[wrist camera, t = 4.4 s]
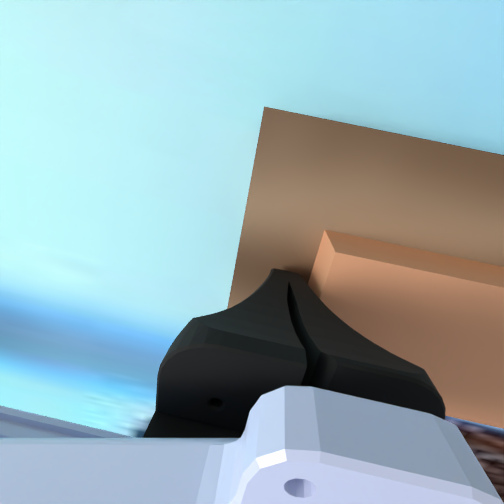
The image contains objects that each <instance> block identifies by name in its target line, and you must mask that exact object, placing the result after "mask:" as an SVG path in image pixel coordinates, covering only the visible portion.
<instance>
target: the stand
mask: <svg viewBox="0 0 504 504" xmlns="http://www.w3.org/2000/svg"><path fill="white" fill-rule="evenodd" d="M324 230H329V231H334V232H339V233H343V234H348V235H353V236H358V237H363V238H367V239H372V240H377V241H382V242H387V243H391V244H396V245H401V246H406V247H410V248H415V249H420V250H425V251H430V252H434V253H439V254H444V255H449V256H453V257H458V258H463V259H468V260H473V261H477V262H482V263H487V264H492V265H496V266H501V267H504V155H500V154H495V153H490V152H485V151H480V150H475V149H470V148H465V147H460V146H456V145H451V144H446V143H441V142H436V141H431V140H426V139H421V138H416V137H411V136H406V135H401V134H396V133H391V132H386V131H382V130H377V129H372V128H367V127H362V126H357V125H352V124H347V123H342V122H337V121H332V120H327V119H322V118H317V117H312V116H308V115H303V114H298V113H293V112H288V111H283V110H278V109H273V108H268V107H264V111H263V117H262V122H261V128H260V133H259V138H258V144H257V149H256V155H255V160H254V166H253V171H252V177H251V182H250V188H249V193H248V199H247V204H246V210H245V215H244V221H243V226H242V232H241V237H240V242H239V248H238V253H237V259H236V264H235V270H234V275H233V281H232V286H231V292H230V297H229V303H228V308H227V309H229V308H231V307H233V306H235V305H237V304H238V303H240V302H242V301H243V300H245V299H246V298H247V297H249V296H250V295H251V294H252V293H254V292H255V291H256V290H257V289H258V288H259V287H260V286H261V285H262V284H263V282H264V281H265V280H266V279H267V277H268V276H269V274H270V271H271V269H273V268H276V269H281V270H285V271H290V272H295V273H299V274H300V275H301V277H302V278H303V279H304V281H305V282H306V283H307V284H308V282H309V279H310V276H311V272H312V269H313V266H314V263H315V259H316V256H317V253H318V250H319V246H320V243H321V240H322V237H323V233H324Z"/></svg>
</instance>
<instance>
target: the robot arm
mask: <svg viewBox="0 0 504 504" xmlns="http://www.w3.org/2000/svg"><path fill="white" fill-rule="evenodd" d="M445 411H446V407H445V405H444V402H443V399H442V397H441V395H440V394H439V392H438V390H437V389H436V387H435V386H434V384H433V382H432V381H431V379H430V377H429V376H428V374H427V373H426V371H425V370H424V369H423V368H421V367H419V366H417V365H415V364H413V363H411V362H409V361H407V360H404V359H402V358H400V357H398V356H396V355H394V354H392V353H391V352H389V351H387V350H385V349H384V348H382V347H380V346H378V345H377V344H375V343H373V342H372V341H370V340H369V339H367V338H365V337H364V336H362V335H361V334H360V333H358V332H357V331H355V330H354V329H353V328H351V327H350V326H349V325H347V324H346V323H345V322H343V321H342V320H341V319H340V318H339V317H338V316H336V315H335V314H334V313H333V312H332V311H331V310H330V309H329V308H328V307H327V306H326V305H325V304H324V303H323V302H322V301H321V300H320V299H319V298H318V296H317V295H316V294H315V293H314V292H313V291H312V289H311V288H310V287H309V286H308V284H307V283H306V282H305V281H304V279H303V278H302V277H301V275H300V274H299V273H295V272H290V271H285V270H281V269H276V268H273V269H271V271H270V274H269V276H268V277H267V279H266V280H265V281H264V282H263V284H262V285H261V286H260V287H259V288H258V289H257V290H256V291H255V292H254V293H252V294H251V295H250V296H249V297H247V298H246V299H245V300H243V301H242V302H240V303H238V304H237V305H235V306H233V307H231V308H229V309H226V310H224V311H221V312H218V313H214V314H210V315H206V316H201V317H196V318H193V319H192V320H191V321H190V322H189V323H188V324H187V325H186V326H185V328H184V329H183V330H182V331H181V332H180V334H179V335H178V336H177V338H176V339H175V340H174V342H173V343H172V345H171V346H170V348H169V350H168V352H167V354H166V355H165V357H164V359H163V361H162V363H161V364H160V368H159V372H158V377H157V394H156V411H155V413H154V415H153V417H152V419H151V421H150V423H149V426H148V428H147V430H146V432H145V434H144V436H143V438H134V437H130V436H126V435H122V434H118V433H113V432H109V431H105V430H101V429H97V428H92V427H88V426H84V425H80V424H76V423H71V422H67V421H63V420H59V419H55V418H50V417H46V416H42V415H38V414H34V413H29V412H25V411H21V410H17V409H13V408H8V407H4V406H0V504H504V503H503V501H502V500H501V498H500V496H499V495H498V493H497V491H496V490H495V488H494V486H493V485H492V483H491V482H490V480H489V478H488V477H487V475H486V473H485V472H484V470H483V468H482V467H481V465H480V464H479V462H478V460H477V459H476V457H475V455H474V454H473V452H472V450H471V449H470V447H469V446H468V444H467V442H466V441H465V439H464V437H463V436H462V434H461V432H460V431H459V429H458V428H457V426H456V425H454V424H452V423H450V422H448V421H446V420H444V419H445Z"/></svg>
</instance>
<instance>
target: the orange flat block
mask: <svg viewBox="0 0 504 504" xmlns="http://www.w3.org/2000/svg"><path fill="white" fill-rule="evenodd" d="M308 286H309V287H310V288H311V289H312V291H313V292H314V293H315V294H316V295H317V296H318V298H319V299H320V300H321V301H322V302H323V303H324V304H325V305H326V306H327V307H328V308H329V309H330V310H331V311H332V312H333V313H334V314H335V315H336V316H338V317H339V318H340V319H341V320H342V321H343V322H345V323H346V324H347V325H349V326H350V327H351V328H353V329H354V330H355V331H357V332H358V333H360V334H361V335H362V336H364V337H365V338H367V339H369V340H370V341H372V342H373V343H375V344H377V345H378V346H380V347H382V348H384V349H385V350H387V351H389V352H391V353H392V354H394V355H396V356H398V357H400V358H402V359H404V360H407V361H409V362H411V363H413V364H415V365H417V366H419V367H421V368H423V369H424V370H425V371H426V373H427V374H428V376H429V377H430V379H431V381H432V382H433V384H434V386H435V387H436V389H437V390H438V392H439V394H440V395H441V397H442V399H443V402H444V405H445V407H446V411H445V415H446V416H450V417H455V418H459V419H463V420H468V421H472V422H477V423H481V424H485V425H490V426H494V427H499V428H503V429H504V267H501V266H496V265H492V264H487V263H482V262H477V261H473V260H468V259H463V258H458V257H453V256H449V255H444V254H439V253H434V252H430V251H425V250H420V249H415V248H410V247H406V246H401V245H396V244H391V243H387V242H382V241H377V240H372V239H367V238H363V237H358V236H353V235H348V234H343V233H339V232H334V231H329V230H324V233H323V237H322V240H321V243H320V246H319V250H318V253H317V256H316V259H315V263H314V266H313V269H312V272H311V276H310V279H309V282H308Z"/></svg>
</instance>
